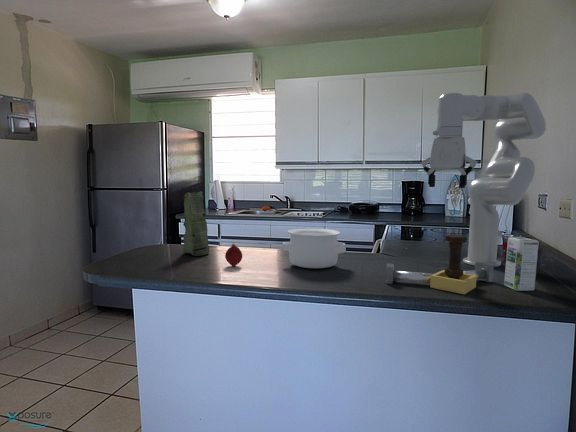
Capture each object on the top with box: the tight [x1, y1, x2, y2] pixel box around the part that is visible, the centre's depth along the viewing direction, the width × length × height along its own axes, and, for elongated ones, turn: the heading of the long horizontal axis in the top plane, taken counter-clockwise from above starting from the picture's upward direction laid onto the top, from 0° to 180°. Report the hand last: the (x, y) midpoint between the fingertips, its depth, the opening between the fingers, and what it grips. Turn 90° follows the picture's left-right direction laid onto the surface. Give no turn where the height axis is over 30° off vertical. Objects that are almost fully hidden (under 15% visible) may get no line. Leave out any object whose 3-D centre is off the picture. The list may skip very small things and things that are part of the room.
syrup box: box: [503, 236, 540, 292], centre depth 113 cm, size 6×6×14 cm
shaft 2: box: [463, 262, 495, 283], centre depth 119 cm, size 12×5×5 cm, turn 118°
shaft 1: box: [385, 263, 434, 285], centre depth 117 cm, size 14×5×5 cm, turn 73°
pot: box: [281, 227, 347, 269], centre depth 137 cm, size 22×17×12 cm
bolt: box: [444, 234, 468, 280], centre depth 113 cm, size 6×5×15 cm
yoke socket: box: [429, 269, 477, 295], centre depth 113 cm, size 10×10×4 cm
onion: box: [224, 242, 243, 267], centre depth 135 cm, size 6×6×8 cm
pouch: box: [182, 190, 210, 257], centre depth 155 cm, size 11×12×25 cm
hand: (446, 187), depth 128 cm, fingers open, 9 cm apart
